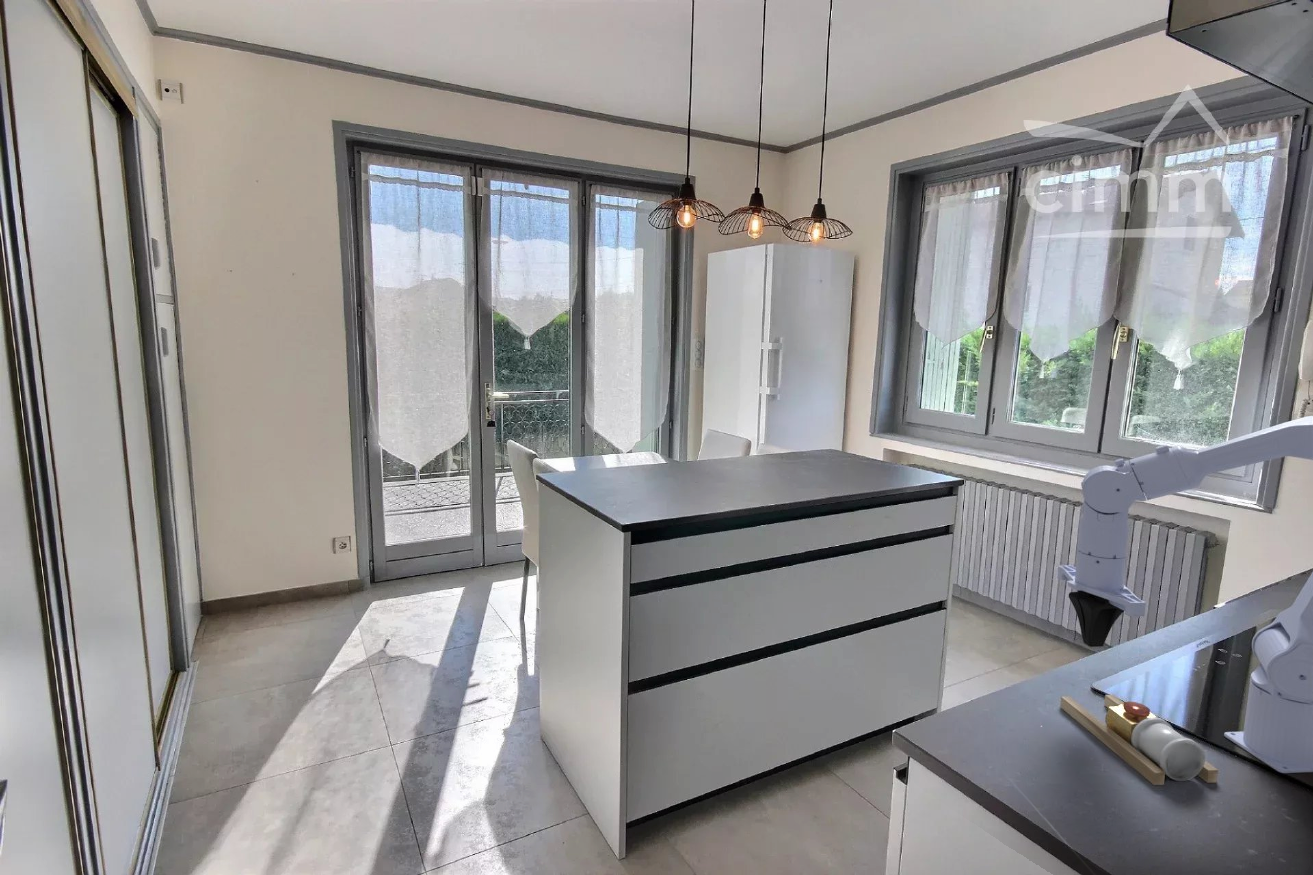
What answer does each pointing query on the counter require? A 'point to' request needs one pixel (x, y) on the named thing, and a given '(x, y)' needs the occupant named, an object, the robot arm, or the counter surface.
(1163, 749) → the coupling
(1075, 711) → the guide rails
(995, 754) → the counter surface
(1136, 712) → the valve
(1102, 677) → the counter surface
